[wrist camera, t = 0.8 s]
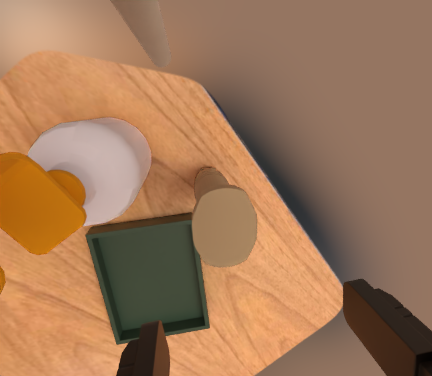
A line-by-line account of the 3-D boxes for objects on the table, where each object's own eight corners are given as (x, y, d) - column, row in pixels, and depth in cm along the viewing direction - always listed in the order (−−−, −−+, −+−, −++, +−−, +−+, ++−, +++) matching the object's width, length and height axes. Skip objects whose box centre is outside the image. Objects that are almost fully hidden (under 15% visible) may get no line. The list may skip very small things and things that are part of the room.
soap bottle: (111, 205, 33) (-56, 435, 10) (56, 148, 31) (-354, 281, 7) (167, 163, 33) (126, 303, 9) (115, 100, 30) (-129, 75, 7)
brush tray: (91, 226, 34) (85, 235, 32) (193, 212, 35) (194, 219, 33) (120, 331, 39) (116, 345, 37) (208, 316, 40) (209, 328, 38)
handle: (225, 152, 33) (257, 185, 19) (227, 200, 35) (256, 264, 21) (187, 154, 33) (189, 190, 18) (190, 203, 34) (195, 270, 20)
